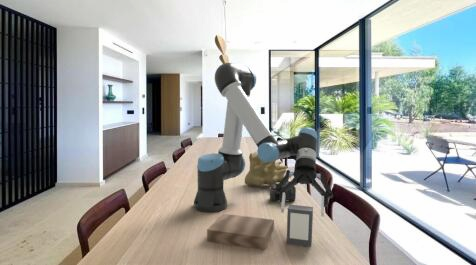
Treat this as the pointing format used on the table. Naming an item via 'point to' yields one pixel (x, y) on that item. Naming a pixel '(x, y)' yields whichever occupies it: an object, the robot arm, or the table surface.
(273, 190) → the camera
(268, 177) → the decorative coral
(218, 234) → the display block
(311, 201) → the table surface
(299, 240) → the tall slate rectangular prism
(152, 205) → the table surface
